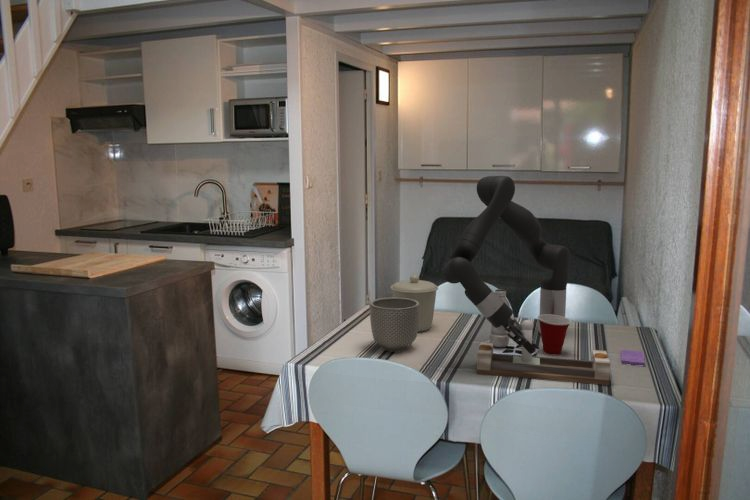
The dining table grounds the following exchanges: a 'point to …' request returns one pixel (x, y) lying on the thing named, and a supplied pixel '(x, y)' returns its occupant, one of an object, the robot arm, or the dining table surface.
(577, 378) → the rail track
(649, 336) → the dining table surface
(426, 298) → the canister
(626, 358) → the sponges
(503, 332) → the plastic bottle
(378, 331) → the planter
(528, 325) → the carriage
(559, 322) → the plastic cup
